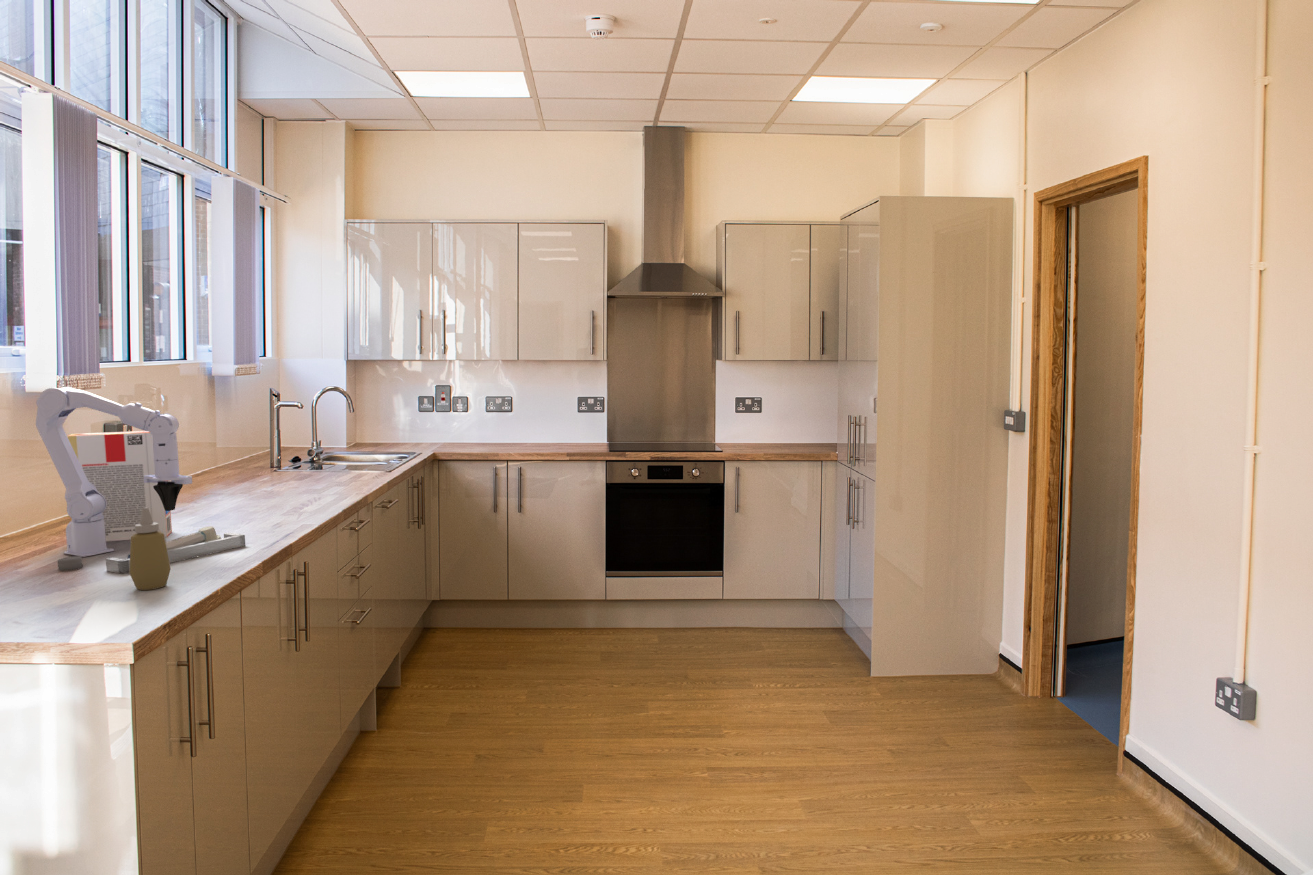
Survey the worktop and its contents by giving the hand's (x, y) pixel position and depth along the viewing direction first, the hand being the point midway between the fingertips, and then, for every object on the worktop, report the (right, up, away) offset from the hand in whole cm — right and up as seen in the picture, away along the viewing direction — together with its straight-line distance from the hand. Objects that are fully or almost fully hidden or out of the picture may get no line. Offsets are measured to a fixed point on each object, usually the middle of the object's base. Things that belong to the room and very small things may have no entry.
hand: (169, 510), depth 240 cm
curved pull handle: (+8, -11, -10) cm, 17 cm away
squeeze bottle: (+17, -14, -39) cm, 45 cm away
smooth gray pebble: (-14, -13, -20) cm, 27 cm away
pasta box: (-22, -9, +17) cm, 29 cm away
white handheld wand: (+7, -12, -9) cm, 16 cm away
